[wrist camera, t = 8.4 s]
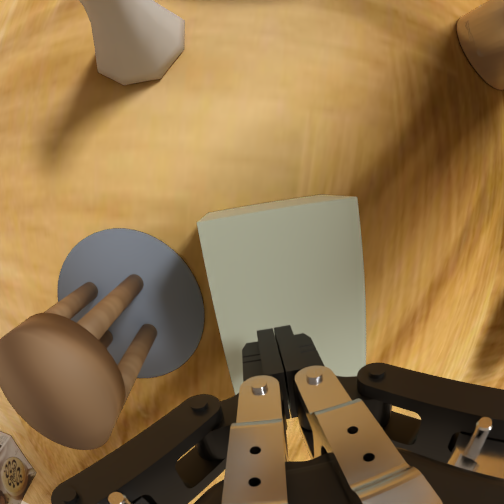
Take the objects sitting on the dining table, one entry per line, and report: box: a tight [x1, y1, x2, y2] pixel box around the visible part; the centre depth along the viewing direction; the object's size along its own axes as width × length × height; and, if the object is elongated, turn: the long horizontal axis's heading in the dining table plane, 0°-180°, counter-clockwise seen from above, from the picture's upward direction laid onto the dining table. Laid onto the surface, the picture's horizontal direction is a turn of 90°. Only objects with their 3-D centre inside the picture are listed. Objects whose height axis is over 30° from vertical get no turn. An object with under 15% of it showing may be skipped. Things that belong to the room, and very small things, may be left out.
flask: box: [79, 0, 185, 85], centre depth 13 cm, size 7×7×10 cm
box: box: [197, 195, 366, 409], centre depth 19 cm, size 8×12×6 cm, turn 10°
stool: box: [0, 274, 157, 450], centre depth 15 cm, size 12×7×13 cm
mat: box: [58, 228, 204, 378], centre depth 21 cm, size 13×13×1 cm
